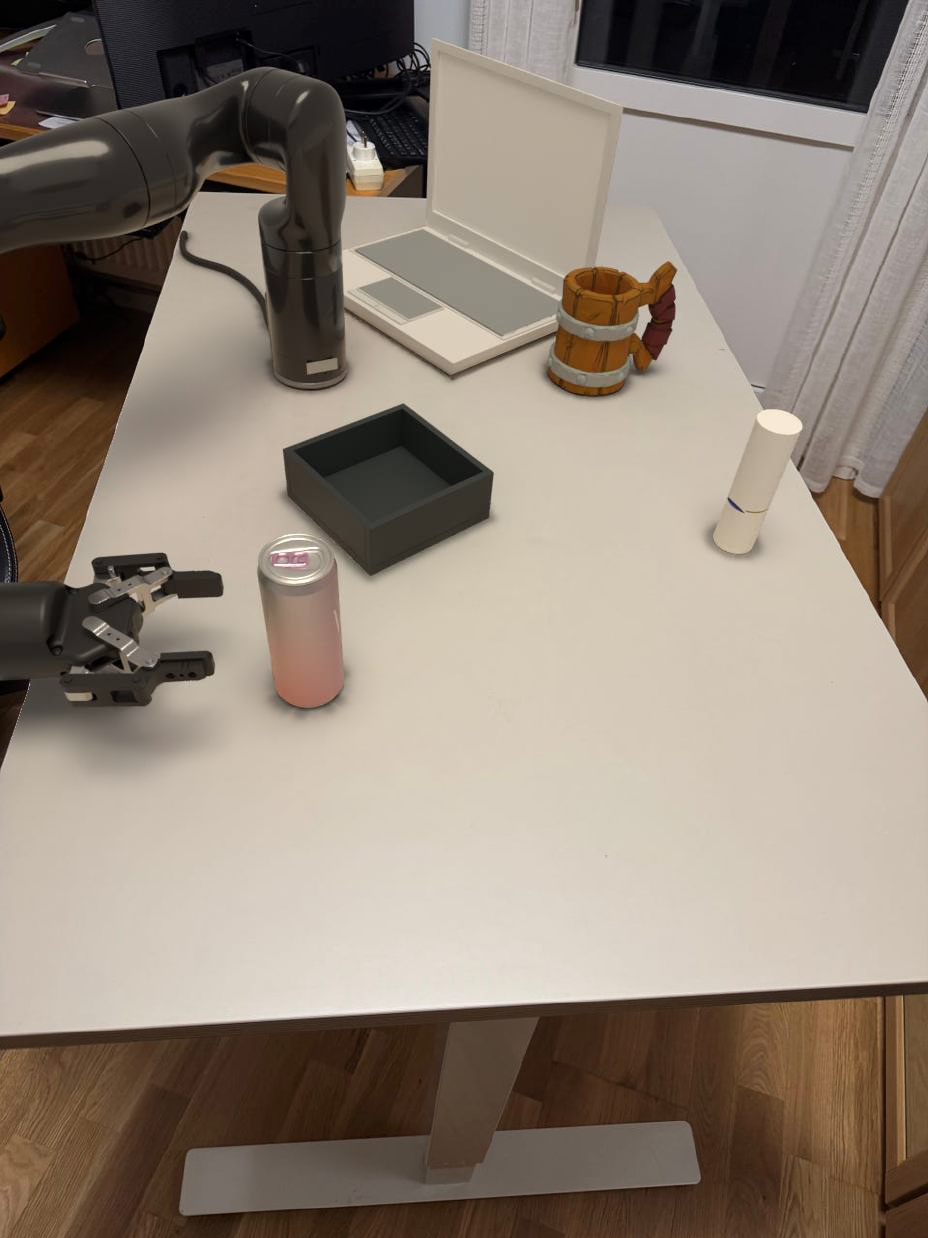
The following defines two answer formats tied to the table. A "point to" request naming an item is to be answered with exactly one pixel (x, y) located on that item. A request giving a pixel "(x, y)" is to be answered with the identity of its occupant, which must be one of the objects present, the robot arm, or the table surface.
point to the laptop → (491, 214)
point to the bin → (387, 486)
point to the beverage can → (302, 618)
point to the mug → (609, 327)
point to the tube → (756, 480)
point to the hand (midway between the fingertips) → (218, 621)
